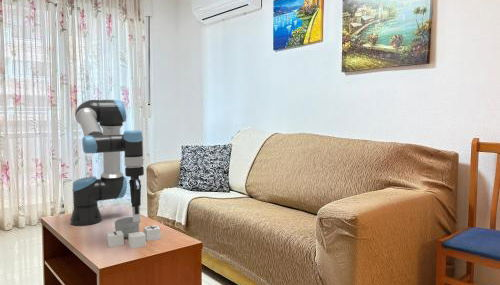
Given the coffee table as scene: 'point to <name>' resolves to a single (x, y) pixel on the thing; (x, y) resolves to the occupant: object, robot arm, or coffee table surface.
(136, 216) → the robot arm
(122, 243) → the marked block bar
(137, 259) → the coffee table surface
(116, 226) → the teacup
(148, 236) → the marked block cross
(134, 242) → the plain block
